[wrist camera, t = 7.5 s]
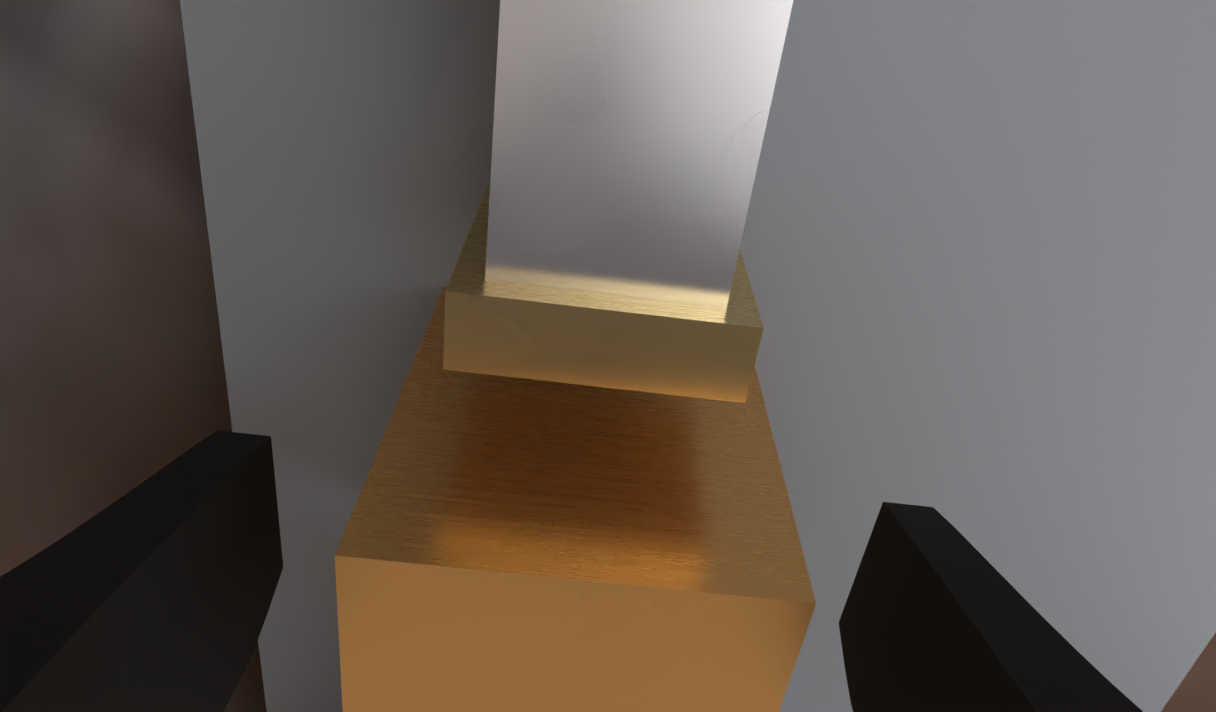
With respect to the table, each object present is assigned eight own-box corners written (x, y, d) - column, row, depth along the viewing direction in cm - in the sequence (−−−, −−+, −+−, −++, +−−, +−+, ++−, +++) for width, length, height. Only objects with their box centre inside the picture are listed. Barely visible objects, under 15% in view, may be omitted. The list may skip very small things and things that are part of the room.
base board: (1789, -445, 9) (1996, -497, 7) (1008, 824, 20) (1035, 892, 18) (166, -723, 8) (77, -838, 7) (304, 763, 19) (281, 829, 18)
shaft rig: (888, -516, 7) (1071, -767, 4) (605, 834, 18) (601, 1039, 15) (225, -626, 7) (-67, -977, 4) (328, 811, 17) (267, 1014, 14)
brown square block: (691, 542, 14) (725, 868, 9) (436, 517, 13) (348, 835, 9) (743, 321, 12) (815, 603, 7) (443, 285, 11) (335, 555, 7)
